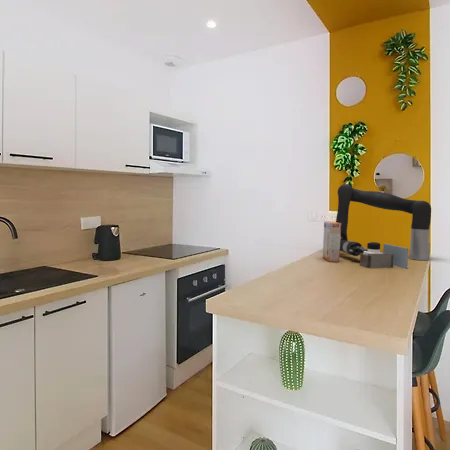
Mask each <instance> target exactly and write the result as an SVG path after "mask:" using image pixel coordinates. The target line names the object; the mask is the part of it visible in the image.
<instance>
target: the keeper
mask: <svg viewBox="0 0 450 450" xmlns="http://www.w3.org/2000/svg"><path fill="white" fill-rule="evenodd" d="M359 257H360V258H359V266H361V267H363V268H367V269H385V268H387V269H389V268H390V269H391V268H394V265H393V257H394V254H393V253H383V252H381V253H372V254H368V255H366V254H360V255H359Z"/></svg>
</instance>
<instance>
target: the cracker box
mask: <svg viewBox="0 0 450 450" xmlns="http://www.w3.org/2000/svg"><path fill="white" fill-rule="evenodd" d="M340 234H341V223H337V222H336V221H324V222H323V239H322V240H323V241H322V242H323V243H322V259H324V260H326V261H327V262H330V263H340V253H341V251H340V239H341V236H340Z"/></svg>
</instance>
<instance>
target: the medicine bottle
mask: <svg viewBox="0 0 450 450" xmlns="http://www.w3.org/2000/svg"><path fill="white" fill-rule="evenodd" d="M366 249H367V250H368V251H364V252H363V254H366V255H368V254H372V253H382V252H380V251H381V243H379V242H376V241H370V242H367V243H366Z"/></svg>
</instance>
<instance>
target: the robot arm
mask: <svg viewBox="0 0 450 450" xmlns="http://www.w3.org/2000/svg"><path fill="white" fill-rule="evenodd" d="M337 197H338V198H337V199H338V202H337V213H336V218H335V222H337V223H341V234H340V252H343V253H346V254H348V255H350V256H354V257H358V256H360V254H363V252H364V251H368V250H367V247H365V246H363V245H362V244H361V243H360V242H357V241H353V240H349V239H348V225H349V213H350V212H349V210H350V203H351V202H355V203H361V204H364V205H367V206H370V207H374V208H378V209H383V210H389V211H398V212H404V213H407V214H411V225H410V244H409V259H410V260H414V259H415V260H416V261H429V260H430V255H431V254H430V252H431V243H430V226H431V221H432V220H431V219H432V206H431V204H430V203H429V202H428V201H426V200H415V199H407V198H403V197H401V196H397V195H396V194H395V195H393V194H391V193H387V192H382V191H375V190H374V191H373V190H361V189H357V188H355V187H353V186H351V184H348V183H343V184H341V185H339V187H338V189H337Z"/></svg>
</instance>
